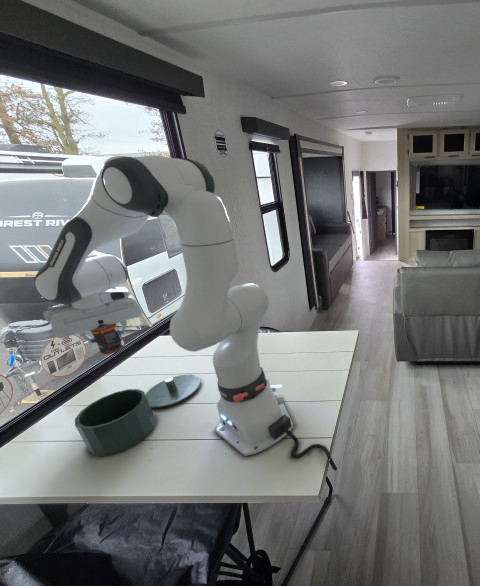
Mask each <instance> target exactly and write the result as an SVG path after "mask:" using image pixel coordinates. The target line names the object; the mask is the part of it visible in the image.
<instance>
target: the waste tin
mask: <svg viewBox="0 0 480 586" xmlns="http://www.w3.org/2000/svg"><path fill="white" fill-rule="evenodd" d="M145 394H146V393H145V391H143V390H141V389H138V388H133V389H131V388H129V389H128V388H127V389H124V390H123V389H122V390H119V391H115V392H112V393H110V394H108V395H105V396H102V397H100V398H99V399H97V400H95V401H93V402H92V403H89V404H88V405H87V406H86V407H84V408H83V409H82V410H81V411H80V412H79V413H78V414H77V416H76V417H75V418H74V427H75V428H76V430H77V432H78V433H79V435H80V437H81V439H82V441H83V442H84V445H85V446H86V448H87V450H88V452H89V453H91V454H92V455H93V456H97V457H107V456H112V455H115V454H116V455H117V454H119V453H121V452H124V451H127V450H129V449H131V448H132V447H134V446H135V445H138V444H139V443H141V441H143V440H144V439H145V438H146V437H148V436H149V435H150V434H151V433H152V432H153V430H154V428H155V427H156V424H157V419H156V417H155V414H154V412H153V410H152V409H153V408H151V407H150V404H149V402H148V400H147V397H146V395H145Z"/></svg>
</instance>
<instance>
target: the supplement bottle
mask: <svg viewBox="0 0 480 586" xmlns="http://www.w3.org/2000/svg"><path fill="white" fill-rule="evenodd" d="M98 323H99V324H101V325H99V327H97V328H95V329H93V330H90V332H91V334H92V337H93V336H94V339H95V341H96V343H95V344H96V345H97V346H98V349H99V351H100V353H101V354H102V355H111V354H115V353H118V352H120V351H121V350H124V348H125V347H126V344H125V341H124V338H123V337H122V335H120V333H119V330H118V329H119V328H118V325H117V323H115V324H103V323H104V322H103V320H99V321H98Z"/></svg>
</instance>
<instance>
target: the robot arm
mask: <svg viewBox="0 0 480 586" xmlns="http://www.w3.org/2000/svg"><path fill="white" fill-rule="evenodd" d="M215 189H216V184H215V180H214V177H213V175H212V173H211V170H210V169H209V168H208V167H207V166H206V165H204V164H203V163H201V162H200V161H197V160H194V159H190V158H186V157H182V158H176V157H167V156H166V157H165V156H160V155H143V156H127V155H114V156H111V157H109V158H107V159H106V160H105V161H104V162H103V164H102V166H101V167H100V169H99V171H98V172H97V174H96V177H95V178H94V181H93V183H92V188H91V191H90V194H89V197H88V199H87V201H86V202H85V203H84V205H83V207H82V208H81V209H79V211H78V213H76V214H75V215H74V217H71V218H70V220H69V221H66V224H65V225H64V226H63V227H62V229H61V231H60V232H59V234H58V237H57V239H56V241H55V243H54V245H53V248H52V249H50V252H49V255H48V258H47V260H46V262H45V263H44V264H43V266H42V267H40V268H39V270H38V271H37V272H36V274H35V277H34V281H33V283H34V288H35V290H36V292H37V293H38V295H39V296H40V297H41V298H43V299H44V300H45V301H48V302H52V303H54V304H57V305H52V306H49V307H48V308H47V309H45V310H44V311H43V313H42V315H43V317H44V320H45V321H46V322H48V323H50V326H51V329H52V332H53V334H54V337H56V338H58V339H65V338H68V337H71V336H75V335H79V337H81V338H82V339H84V340H86V341H88V344H89V345H93V344H97V343H96V341H95V339H94V336H93V335H92V336H90V335H88V334H87V332H88V331H89V332H91V330H93V329H95V328H97V327H99V325H101V324H99V323H98V321H99V320H103V322H104V323H103V324H115V323H116V324H118V323H120V325H121V327H120V328H118V330H119V333H120V335H121V336H123V335H127V332H126V328H127V324H128V322H127V321H129V320H133V319H136V318H140V317H142V315H143V310H142V308H141V306H140V304H139V303H138V301H137V299H136V298H135V297H134V296H133V295H132V294H130V293H131V292H130V291H129V289H128V288H127V287H126V286H122V285H123V284H126V282H127V281H128V277H129V271H128V268H127V265H126V264H125V262H124V260H123V259H121V258H120V257H118V256H116V255H113V254H109V253H108V254H107V253H102V252H99V251H97V249H99V248H101V247H103V246H105V245H108V244H110V243H113V242H116V241H119V240H121V239H123V238H124V239H125V238H127V237H130V236H132V235H134V234H136V233H138V232H139V231H140V230H141V229H142V228H143V227H144V226H145V225H146V223H147V222H148V220H149V218H150V217H152V218H158V217H160V216H161V215H162V214H165V215H166V216H168V217H169V218H170V219H171V221H173V223H174V226H175V228H176V233H177V239H178V242H179V245H180V250H181V254H182V258H183V263H184V268H185V273H186V283H185V291H184V295H183V299H182V300H181V301H182V302H181V304H180V305H179V307H178V309H177V311H176V312H175V314H174V315H173V316H172V318H171V319H170V322H169V334H170V337H171V339H172V341H173V342H174V343H175V344H176V345H177V346H178V347H179V348H181V349H183V350H185V351H188V352H194V353H197V352H199V351H202V350H205V349H207V348H211V347H213V346H215V345H217V344H218V345H217V347H216V348H215V350H214V352H213V355H212V364H213V368H214V372H215V375H216V379H217V383H216V385H217V390H218V392H219V395H220V398H219V400H218V401H217V403H216V408H217V411H218V415H219V419H220V420H219V421H220V422H219V424H218V425H217V426H216V429H215V431H216V433H217V435H218V436H220V437H221V438H222V439H223V440H224V441H226V442H227V443H228V444H230V445H231V447H234V449H235V450H237V452H239V453H240V454H242V455H243V456H245V457H247V456H252V455H255V454H258V453H261V452H262V451H265V450H267V449H268V448H270V447H273V446H274V445H275V444H277V443H279V442H280V441H281V440H282V439H284V438H285V437H286V436H287V435H288V436H289V437H290V438H291V439H292V440H293V442H294V446H293V448H292V449H291V453H290V456H291V457H292V458H294V459H299V458H301V457H303V456H304V455H306V454H307V453H309V452H310V451H311V450H313V449H319V450H322V451H323V452H324V454H325V455H326V458H327V460H328V462H329V465H330V466H331V468H332V470H333V471H337V470H338V467H337V465H336V464H335V462H334V460H333V458H332V457H331V458H330V455H331V453H330V450H329V449H328V448H327V447H326V446H325V445H324V444H320V443H313V444H311V445H310V446H308V447H306V448H305V449H304V450H303V451H301V452H300V453H296V451H297V449H298V448H299V440H298V438H297V437H296V436H295V434H294V433H293V432H292V430H293V428H294V423H293V421H292V418H291V417H290V414H289V412H288V410H287V407H286V406H285V404H284V399H283V397H282V396H281V395H277V394H275V392H276V391H277V390H276V388H282V387H283V385H282V384H273V385H271V384H270V380H269V379H268V378H267V375H266V373H265V371H264V369H263V368H262V366H261V361H260V356H259V349H258V339H259V332H260V328H261V324H262V321H263V318H264V316H265V314H266V312H267V310H268V309H269V305H270V303H269V302H270V301H269V297H268V295H267V292H266V291H265V290H264V289H263V288H262V287H261V286H260V285H258V284H255V283H252V282H251V283H249V282H248V283H244V284H239V285H234V286H232V287H230V286H231V284H232V282H233V281H234V279H235V278H236V276H238V275H237V274H238V273H239V270H240V263H239V258H238V257H239V256H238V253H237V248H236V242H235V238H234V233H233V228H232V225H231V221H230V218H229V215H228V212H227V210H226V207H225V205H224V203H223V201H222V199H221V197H219V196H218V195H217V194H215ZM329 459H330V461H329Z"/></svg>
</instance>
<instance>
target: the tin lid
mask: <svg viewBox="0 0 480 586" xmlns="http://www.w3.org/2000/svg"><path fill="white" fill-rule="evenodd" d="M200 387H201V379H200V378H199V376H197V375H196V374H195V375H194V374H180V375H176V376H171V377H170V376H169V377H167V378H166V379H164V380H162V381H160V382H158V383H157V384H155V385H154V386H151V388H150V389H148V390H147V391H146V393H145V395H146V397H147V400H148V402H149V404H150V407H151V409H162V408H168V407H170V406H171V407H172V406H173V405H176V404H179V403H181V402H183V401H185V400H187V399H188V398H190V397H191V396H192V395H193V394H195V393H196V392H197V391H198V389H200Z"/></svg>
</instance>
